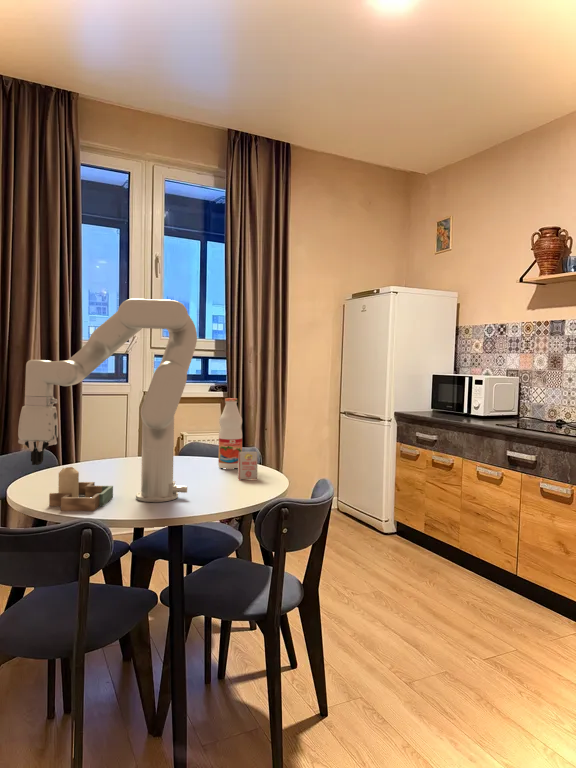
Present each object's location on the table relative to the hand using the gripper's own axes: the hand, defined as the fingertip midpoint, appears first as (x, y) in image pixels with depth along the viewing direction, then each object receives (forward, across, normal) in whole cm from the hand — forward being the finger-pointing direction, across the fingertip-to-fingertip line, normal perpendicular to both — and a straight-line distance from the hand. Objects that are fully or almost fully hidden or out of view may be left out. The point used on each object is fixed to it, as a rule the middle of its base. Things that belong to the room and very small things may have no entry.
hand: (36, 464), depth 159 cm
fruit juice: (+10, -54, -56) cm, 79 cm away
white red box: (+10, -62, -34) cm, 71 cm away
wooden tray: (+11, -13, 0) cm, 17 cm away
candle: (+11, -9, 0) cm, 14 cm away
